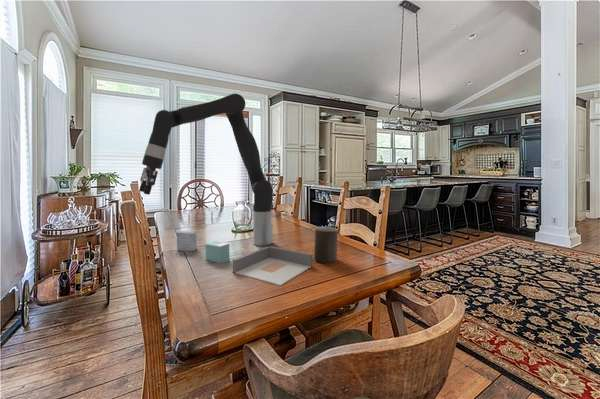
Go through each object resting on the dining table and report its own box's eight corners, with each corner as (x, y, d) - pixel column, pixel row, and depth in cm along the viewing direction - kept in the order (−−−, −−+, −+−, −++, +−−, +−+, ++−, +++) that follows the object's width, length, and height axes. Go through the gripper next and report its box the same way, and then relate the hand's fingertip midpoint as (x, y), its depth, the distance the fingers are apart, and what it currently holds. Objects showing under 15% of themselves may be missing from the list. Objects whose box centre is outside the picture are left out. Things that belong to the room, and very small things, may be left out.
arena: (269, 256, 124) (268, 245, 124) (312, 266, 113) (312, 254, 112) (232, 272, 106) (232, 259, 105) (280, 285, 94) (280, 271, 93)
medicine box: (197, 248, 135) (196, 231, 134) (193, 251, 131) (192, 233, 130) (181, 248, 136) (181, 230, 135) (176, 251, 132) (176, 232, 131)
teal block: (214, 256, 124) (214, 240, 123) (229, 260, 120) (229, 243, 119) (205, 259, 120) (205, 243, 119) (220, 263, 115) (220, 246, 114)
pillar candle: (321, 265, 114) (323, 229, 112) (310, 258, 123) (311, 224, 121) (341, 261, 119) (342, 227, 117) (328, 255, 127) (329, 222, 125)
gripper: (168, 159, 117) (157, 197, 117) (159, 158, 128) (149, 192, 127) (149, 154, 112) (138, 193, 112) (141, 153, 123) (131, 188, 122)
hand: (144, 192), depth 120 cm, fingers open, 8 cm apart
